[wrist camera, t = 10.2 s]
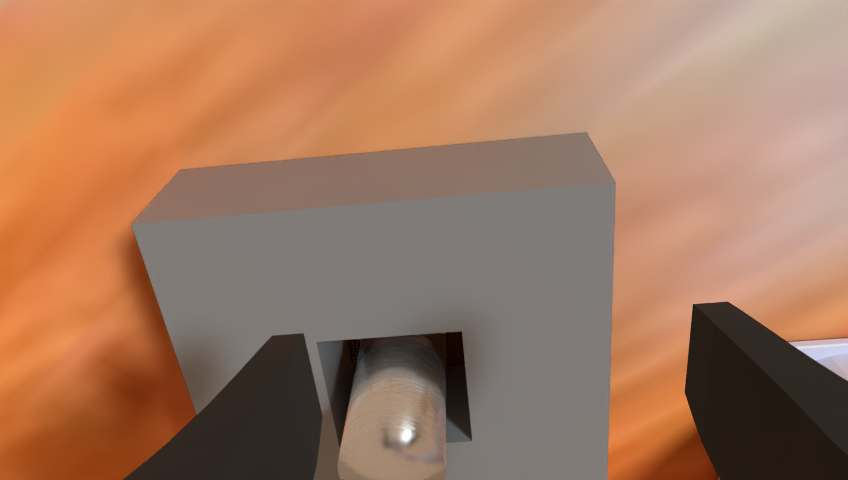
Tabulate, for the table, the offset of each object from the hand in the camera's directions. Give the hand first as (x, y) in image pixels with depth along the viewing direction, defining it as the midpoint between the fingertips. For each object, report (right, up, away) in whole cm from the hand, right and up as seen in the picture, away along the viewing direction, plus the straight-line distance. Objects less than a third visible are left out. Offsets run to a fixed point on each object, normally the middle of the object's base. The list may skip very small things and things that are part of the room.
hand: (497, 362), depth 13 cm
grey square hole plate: (-2, -1, +12) cm, 12 cm away
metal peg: (-2, -1, +12) cm, 12 cm away
